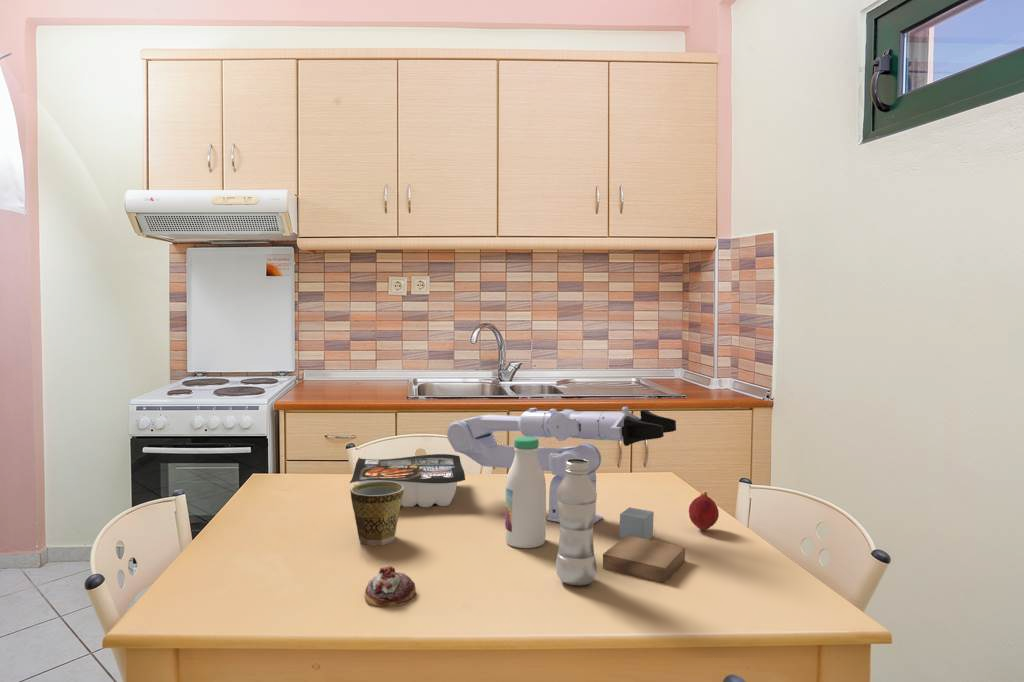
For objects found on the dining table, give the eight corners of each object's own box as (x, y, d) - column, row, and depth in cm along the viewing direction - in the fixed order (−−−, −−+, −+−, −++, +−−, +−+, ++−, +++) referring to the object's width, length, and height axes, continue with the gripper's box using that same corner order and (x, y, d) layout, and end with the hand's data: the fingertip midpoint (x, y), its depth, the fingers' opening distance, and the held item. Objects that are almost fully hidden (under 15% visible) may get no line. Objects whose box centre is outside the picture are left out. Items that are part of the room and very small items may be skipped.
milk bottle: (551, 538, 126) (552, 436, 124) (536, 552, 119) (537, 444, 117) (515, 532, 129) (516, 432, 128) (498, 545, 122) (499, 440, 121)
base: (602, 568, 112) (602, 554, 111) (626, 548, 121) (626, 535, 121) (664, 583, 106) (665, 568, 106) (684, 560, 115) (685, 547, 115)
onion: (719, 536, 127) (720, 496, 127) (689, 534, 129) (690, 494, 128) (716, 527, 133) (717, 488, 133) (687, 524, 134) (688, 486, 134)
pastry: (368, 611, 95) (368, 578, 95) (359, 590, 102) (359, 559, 102) (421, 602, 99) (421, 570, 98) (409, 582, 106) (409, 552, 105)
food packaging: (349, 479, 139) (359, 455, 162) (349, 514, 140) (359, 485, 162) (465, 476, 143) (459, 453, 165) (465, 510, 143) (459, 482, 166)
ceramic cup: (414, 539, 125) (414, 487, 124) (370, 553, 117) (370, 499, 117) (374, 523, 133) (374, 475, 133) (331, 535, 126) (331, 484, 126)
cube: (619, 539, 126) (620, 513, 126) (629, 531, 130) (629, 507, 130) (644, 544, 123) (644, 518, 123) (653, 536, 128) (653, 511, 127)
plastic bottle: (585, 594, 101) (588, 468, 100) (548, 584, 105) (549, 462, 104) (602, 579, 107) (605, 460, 106) (566, 570, 110) (567, 454, 109)
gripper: (588, 411, 126) (655, 412, 119) (617, 402, 139) (679, 403, 131) (590, 447, 126) (657, 451, 119) (618, 435, 139) (681, 437, 132)
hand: (669, 428), depth 125 cm, fingers open, 7 cm apart
